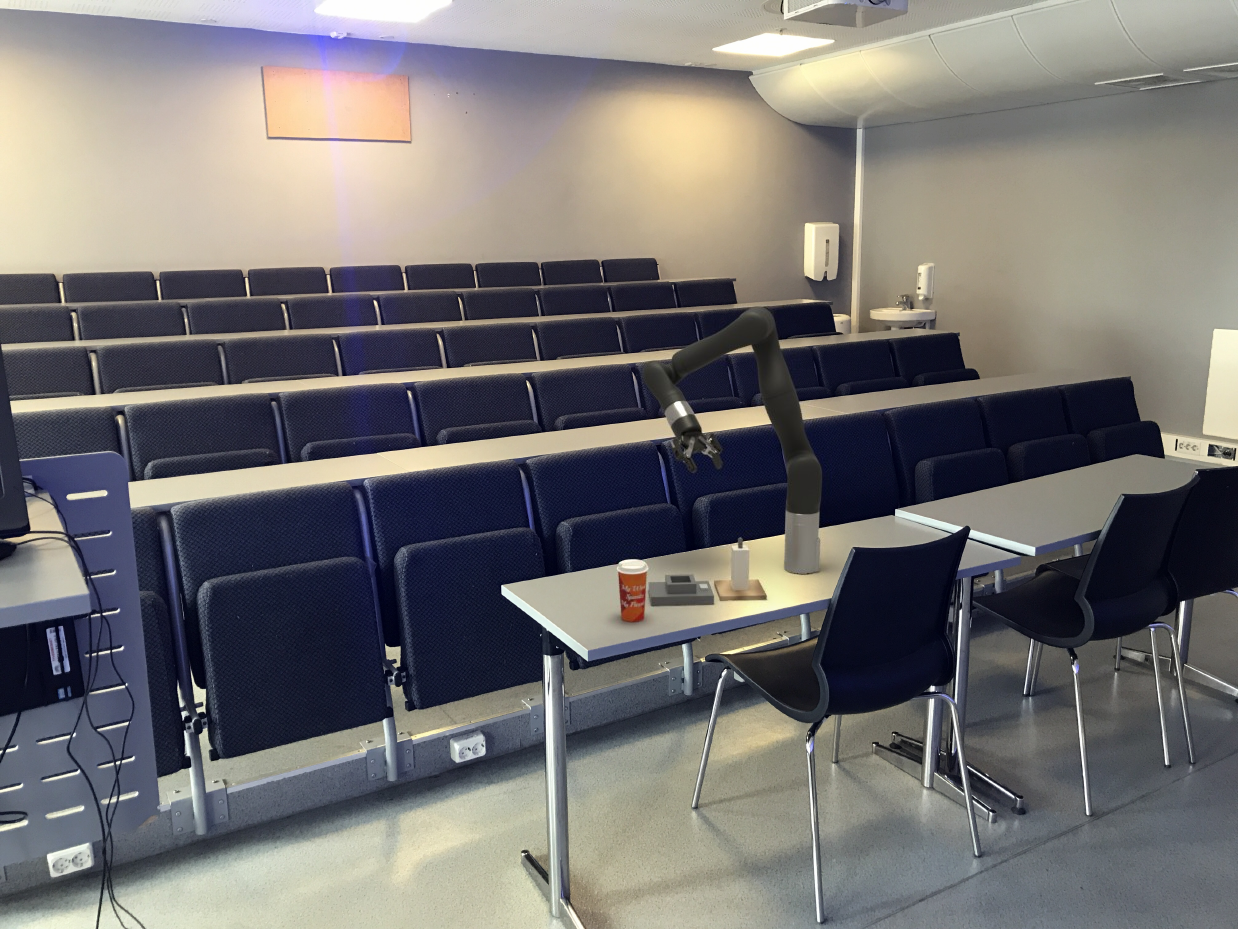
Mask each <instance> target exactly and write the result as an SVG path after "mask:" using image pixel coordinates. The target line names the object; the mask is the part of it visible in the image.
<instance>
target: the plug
mask: <svg viewBox="0 0 1238 929" xmlns="http://www.w3.org/2000/svg"><path fill="white" fill-rule="evenodd" d="M743 541H744V539H743V538H742V537H741V536H740V537H738V538H737V545H731V549H730V550H731V551H730V555H731V556H730V557H731V558H730V580H731V587H732V589H733V590H748V589H749V580H750V578H749V577H750V549H749V547H748V545H745V544H743V543H744V542H743Z"/></svg>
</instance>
